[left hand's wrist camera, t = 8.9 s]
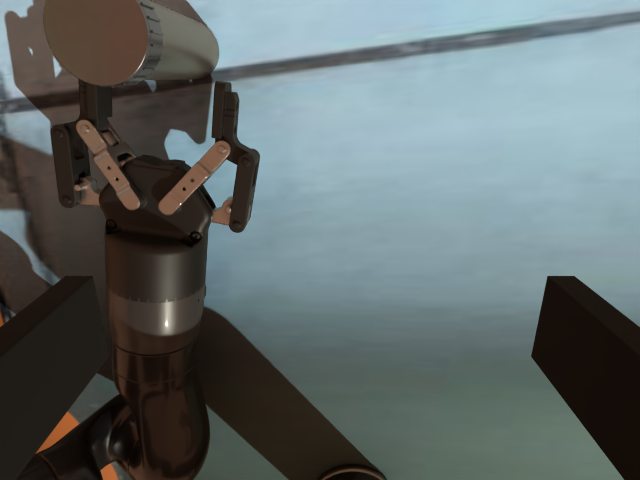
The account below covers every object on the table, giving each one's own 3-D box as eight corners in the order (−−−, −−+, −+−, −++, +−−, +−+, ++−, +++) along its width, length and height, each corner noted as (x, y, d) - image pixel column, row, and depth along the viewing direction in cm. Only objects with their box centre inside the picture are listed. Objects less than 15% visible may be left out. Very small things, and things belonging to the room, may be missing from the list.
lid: (84, 93, 23) (62, 94, 21) (52, -13, 22) (25, -22, 20) (175, 79, 23) (161, 79, 21) (149, -29, 21) (131, -40, 19)
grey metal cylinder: (172, 82, 36) (71, 86, 22) (158, 24, 34) (40, -13, 20) (224, 75, 36) (156, 73, 21) (212, 16, 34) (131, -28, 20)
